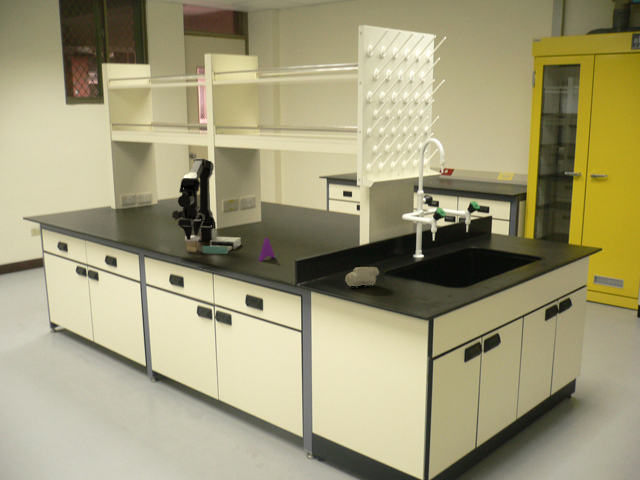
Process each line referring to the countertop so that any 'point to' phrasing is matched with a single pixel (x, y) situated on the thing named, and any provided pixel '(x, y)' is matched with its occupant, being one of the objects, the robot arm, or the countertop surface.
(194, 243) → the beech block
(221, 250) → the tray
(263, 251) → the arrowhead
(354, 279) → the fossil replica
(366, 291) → the countertop surface
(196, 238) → the disc
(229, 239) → the block
